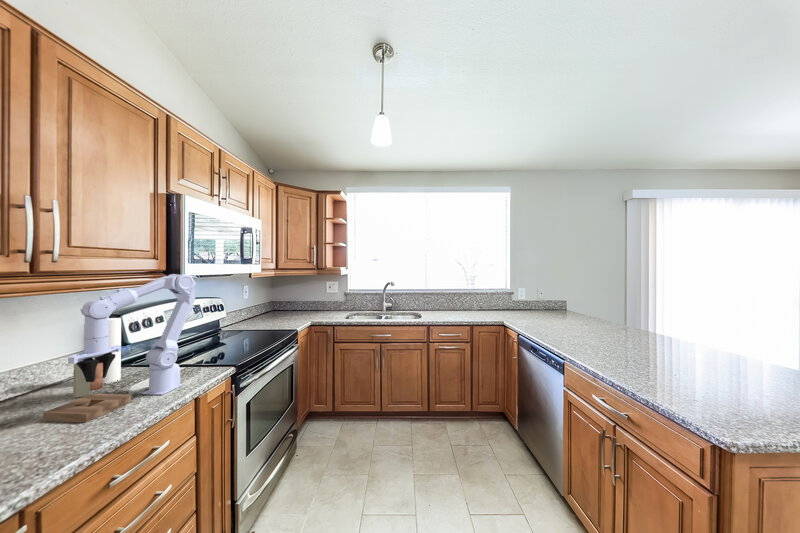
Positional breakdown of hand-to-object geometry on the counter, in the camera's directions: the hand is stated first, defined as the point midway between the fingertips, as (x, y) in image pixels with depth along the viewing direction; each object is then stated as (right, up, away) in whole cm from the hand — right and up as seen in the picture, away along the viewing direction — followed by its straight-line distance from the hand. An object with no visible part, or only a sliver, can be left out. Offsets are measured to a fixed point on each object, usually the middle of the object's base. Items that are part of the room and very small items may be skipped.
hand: (96, 379), depth 98 cm
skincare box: (-17, -10, +13) cm, 24 cm away
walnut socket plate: (-2, -10, 0) cm, 10 cm away
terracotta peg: (0, -3, 0) cm, 3 cm away
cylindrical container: (-21, -10, +26) cm, 35 cm away
